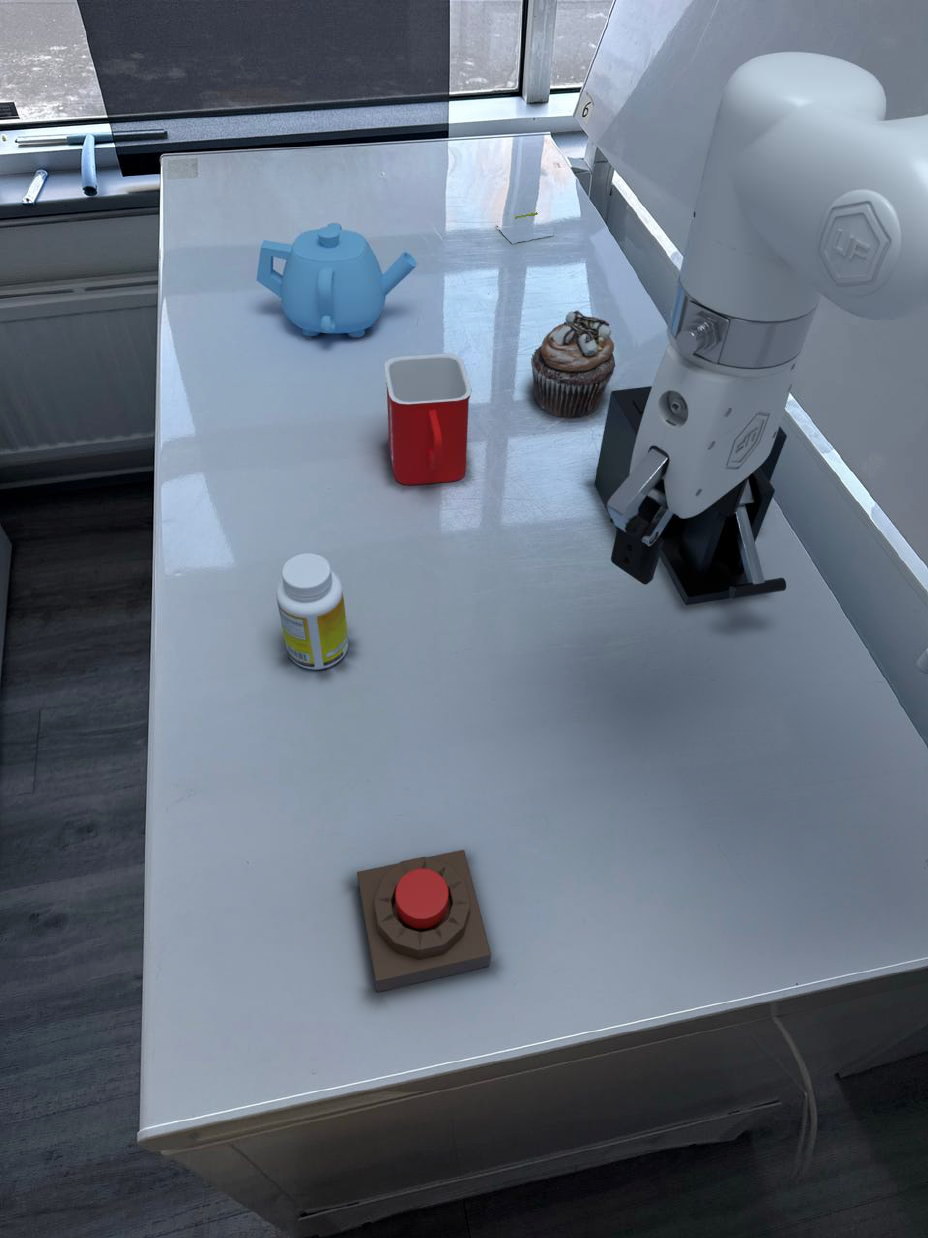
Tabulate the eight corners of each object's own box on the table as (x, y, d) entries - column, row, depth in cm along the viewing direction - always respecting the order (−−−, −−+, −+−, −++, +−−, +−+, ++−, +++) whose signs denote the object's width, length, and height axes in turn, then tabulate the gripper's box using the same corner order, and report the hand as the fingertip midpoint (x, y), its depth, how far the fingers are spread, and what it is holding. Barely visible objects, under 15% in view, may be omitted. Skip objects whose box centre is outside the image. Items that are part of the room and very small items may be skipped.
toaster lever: (778, 593, 81) (791, 587, 79) (727, 601, 81) (739, 596, 78) (749, 479, 83) (761, 470, 81) (699, 486, 82) (710, 477, 80)
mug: (385, 440, 101) (382, 357, 93) (458, 434, 102) (460, 352, 94) (398, 512, 93) (395, 429, 85) (476, 505, 94) (480, 422, 86)
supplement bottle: (349, 623, 83) (341, 544, 75) (348, 671, 79) (339, 594, 72) (288, 625, 82) (274, 546, 75) (284, 673, 79) (269, 595, 71)
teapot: (254, 353, 111) (239, 262, 102) (271, 284, 122) (259, 196, 113) (415, 357, 111) (414, 267, 102) (419, 288, 122) (418, 201, 113)
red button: (453, 922, 61) (453, 912, 60) (401, 934, 60) (400, 924, 59) (441, 874, 63) (442, 863, 62) (391, 884, 63) (390, 874, 61)
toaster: (752, 528, 93) (788, 434, 84) (625, 548, 91) (648, 452, 81) (713, 467, 99) (742, 373, 90) (593, 484, 97) (611, 389, 88)
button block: (489, 966, 63) (492, 945, 60) (376, 992, 61) (374, 972, 58) (463, 862, 68) (464, 838, 65) (358, 884, 66) (355, 860, 63)
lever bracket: (762, 592, 87) (800, 501, 78) (685, 605, 86) (716, 513, 77) (727, 536, 92) (760, 444, 83) (655, 547, 91) (680, 455, 82)
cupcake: (541, 367, 111) (549, 292, 103) (616, 386, 109) (631, 310, 101) (516, 410, 105) (523, 334, 97) (595, 430, 103) (609, 354, 95)
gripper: (704, 410, 44) (640, 632, 57) (877, 289, 52) (787, 508, 65) (587, 345, 47) (552, 569, 60) (767, 241, 56) (702, 458, 69)
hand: (674, 537), depth 63 cm, fingers open, 9 cm apart
